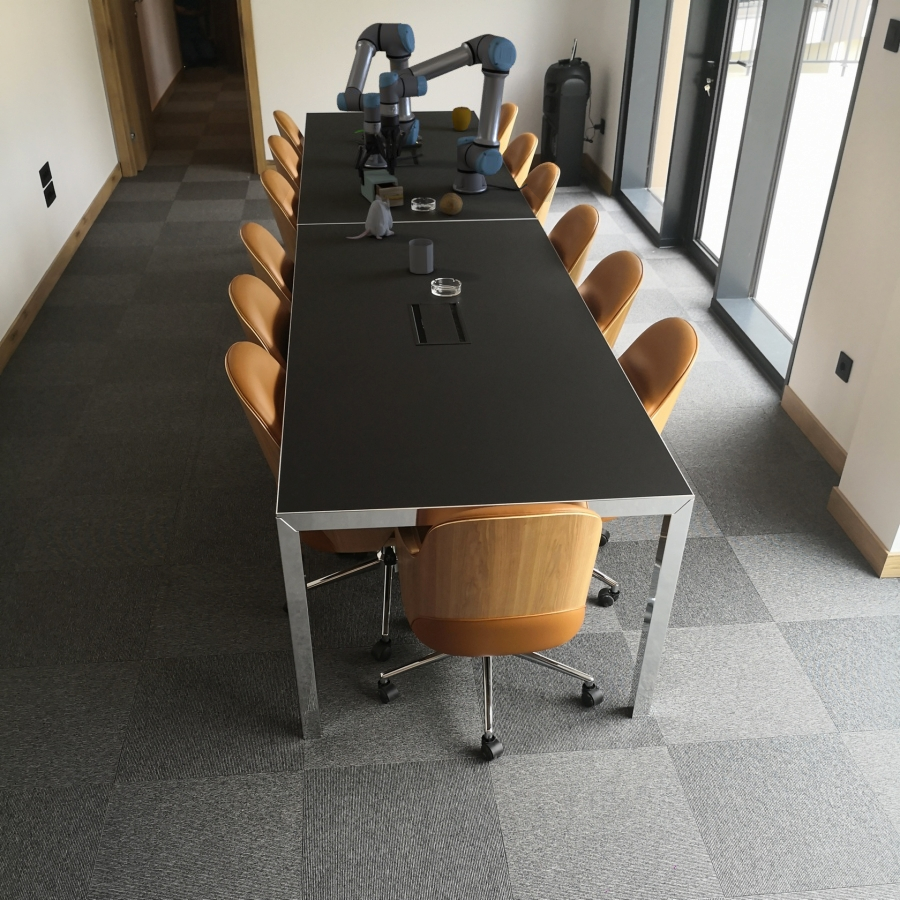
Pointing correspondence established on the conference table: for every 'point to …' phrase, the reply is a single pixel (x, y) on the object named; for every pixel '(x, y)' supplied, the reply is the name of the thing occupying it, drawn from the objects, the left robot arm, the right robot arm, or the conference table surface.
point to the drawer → (389, 193)
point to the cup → (421, 256)
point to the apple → (461, 118)
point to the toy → (378, 220)
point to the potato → (451, 204)
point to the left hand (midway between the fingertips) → (376, 183)
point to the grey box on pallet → (375, 182)
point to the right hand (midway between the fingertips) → (391, 174)
